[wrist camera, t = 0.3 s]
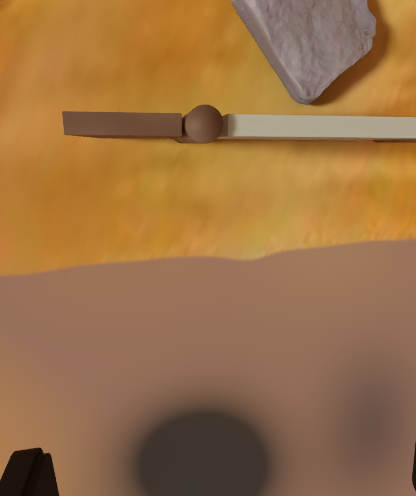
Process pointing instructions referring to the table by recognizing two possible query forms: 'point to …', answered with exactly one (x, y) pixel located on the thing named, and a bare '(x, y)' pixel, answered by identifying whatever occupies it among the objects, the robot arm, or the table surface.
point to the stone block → (309, 39)
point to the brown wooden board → (153, 125)
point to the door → (316, 127)
